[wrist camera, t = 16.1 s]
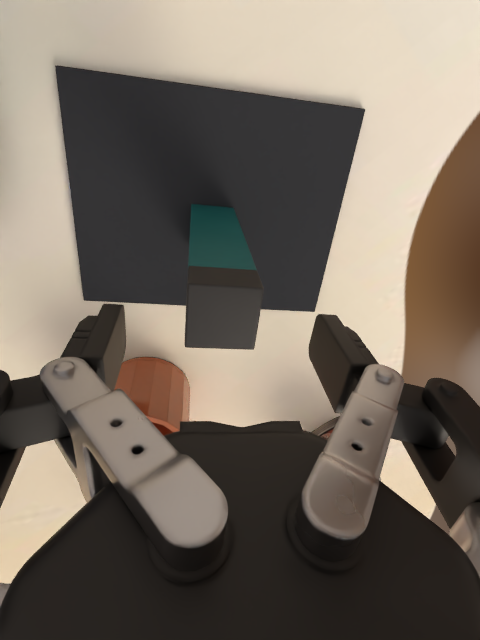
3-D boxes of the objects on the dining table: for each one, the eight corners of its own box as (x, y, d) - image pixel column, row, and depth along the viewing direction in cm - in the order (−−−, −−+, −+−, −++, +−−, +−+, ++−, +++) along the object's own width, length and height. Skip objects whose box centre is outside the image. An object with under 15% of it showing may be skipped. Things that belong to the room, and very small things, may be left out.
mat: (84, 298, 30) (83, 300, 29) (57, 65, 22) (54, 65, 21) (313, 309, 33) (314, 312, 32) (363, 109, 25) (365, 109, 24)
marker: (189, 245, 28) (184, 348, 16) (191, 203, 26) (187, 283, 14) (229, 248, 28) (254, 350, 16) (233, 207, 27) (264, 288, 15)
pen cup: (108, 419, 37) (90, 484, 30) (102, 355, 33) (79, 415, 26) (187, 419, 38) (186, 482, 32) (191, 358, 34) (190, 415, 28)
